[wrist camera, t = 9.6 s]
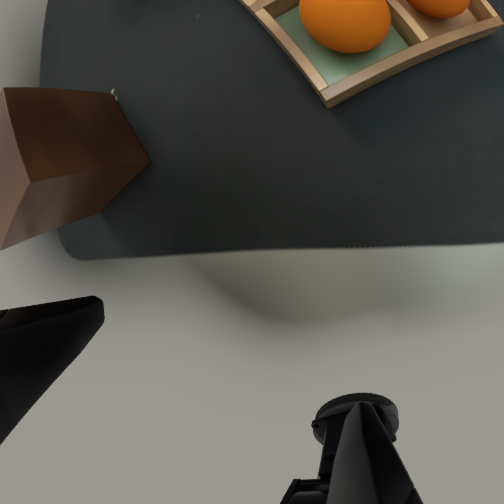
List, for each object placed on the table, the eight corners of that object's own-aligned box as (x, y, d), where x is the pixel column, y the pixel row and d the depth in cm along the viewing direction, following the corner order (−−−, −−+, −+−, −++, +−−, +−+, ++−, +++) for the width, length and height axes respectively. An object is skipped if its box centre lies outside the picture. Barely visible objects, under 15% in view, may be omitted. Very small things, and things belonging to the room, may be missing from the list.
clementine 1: (396, 47, 11) (420, 14, 7) (333, 77, 13) (338, 47, 9) (348, -8, 11) (354, -50, 6) (286, 19, 12) (274, -21, 8)
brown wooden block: (150, 162, 19) (29, 182, 10) (99, 213, 22) (0, 251, 12) (112, 94, 18) (2, 87, 9) (68, 149, 21) (-27, 165, 12)
